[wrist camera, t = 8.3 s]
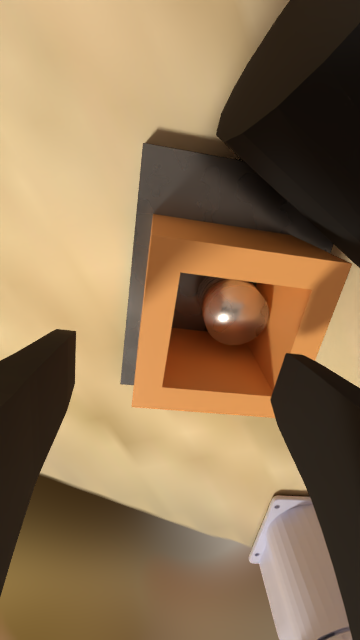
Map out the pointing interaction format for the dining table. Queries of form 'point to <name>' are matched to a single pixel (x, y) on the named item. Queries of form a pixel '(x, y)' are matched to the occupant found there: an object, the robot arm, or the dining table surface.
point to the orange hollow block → (199, 346)
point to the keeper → (215, 207)
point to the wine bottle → (305, 115)
